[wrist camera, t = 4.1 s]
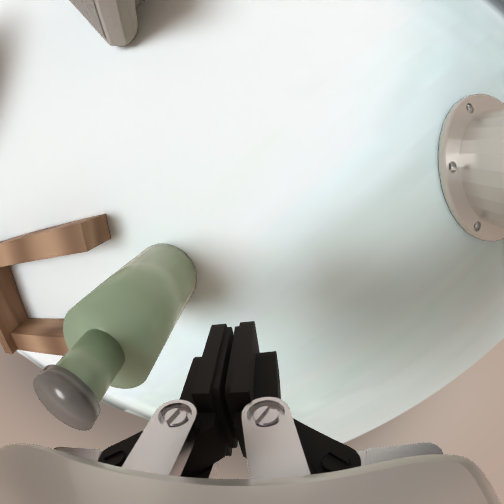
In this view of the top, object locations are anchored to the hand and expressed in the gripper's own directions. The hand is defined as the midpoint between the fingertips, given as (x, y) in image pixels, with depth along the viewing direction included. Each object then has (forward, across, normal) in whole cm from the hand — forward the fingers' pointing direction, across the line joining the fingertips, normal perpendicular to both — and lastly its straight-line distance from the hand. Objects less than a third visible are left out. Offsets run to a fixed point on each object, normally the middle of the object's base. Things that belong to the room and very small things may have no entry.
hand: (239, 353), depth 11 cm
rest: (+10, +18, 0) cm, 21 cm away
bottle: (+10, +7, 0) cm, 12 cm away
